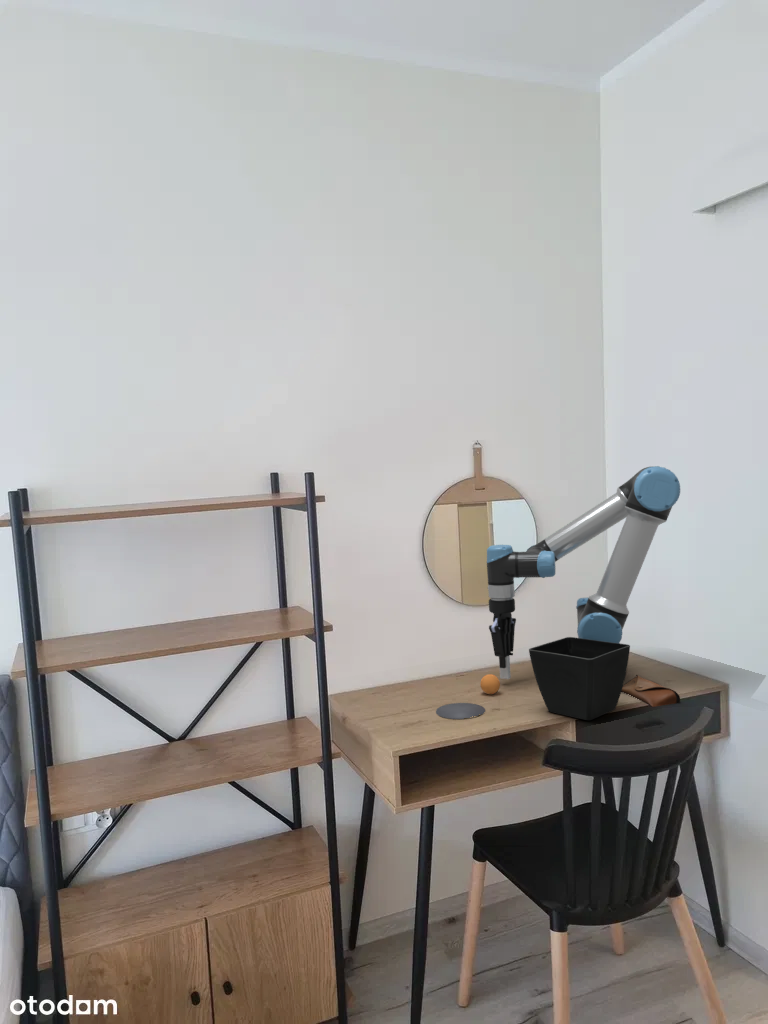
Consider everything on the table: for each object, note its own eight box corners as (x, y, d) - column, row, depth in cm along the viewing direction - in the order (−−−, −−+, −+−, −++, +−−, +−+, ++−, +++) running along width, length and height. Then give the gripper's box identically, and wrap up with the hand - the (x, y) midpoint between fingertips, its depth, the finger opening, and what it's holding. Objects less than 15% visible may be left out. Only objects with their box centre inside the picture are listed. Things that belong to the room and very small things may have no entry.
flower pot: (571, 695, 210) (568, 634, 209) (634, 708, 196) (631, 643, 195) (529, 713, 197) (526, 648, 196) (594, 728, 183) (591, 659, 182)
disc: (451, 701, 211) (451, 700, 211) (493, 707, 203) (493, 706, 203) (426, 714, 200) (426, 714, 200) (469, 722, 192) (469, 721, 192)
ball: (486, 689, 219) (485, 671, 219) (503, 692, 216) (502, 673, 216) (477, 695, 215) (476, 675, 214) (494, 697, 211) (493, 678, 211)
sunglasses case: (612, 689, 212) (622, 667, 213) (631, 699, 214) (641, 677, 215) (653, 707, 195) (664, 684, 196) (673, 718, 197) (684, 694, 198)
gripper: (500, 593, 229) (503, 671, 230) (479, 601, 218) (483, 682, 220) (523, 595, 225) (526, 673, 226) (502, 602, 214) (506, 685, 215)
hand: (505, 677), depth 223 cm, fingers closed
